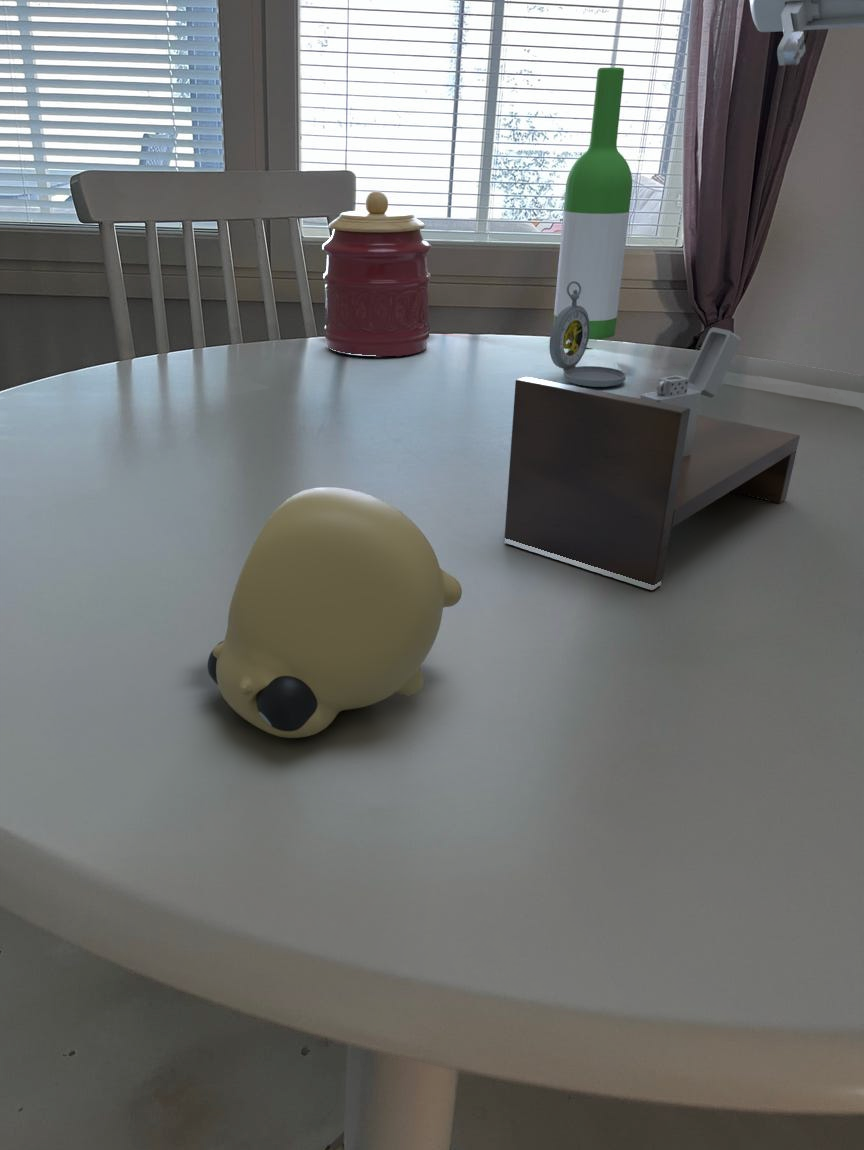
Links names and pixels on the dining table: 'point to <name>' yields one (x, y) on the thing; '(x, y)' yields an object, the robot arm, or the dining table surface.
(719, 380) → the lighter
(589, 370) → the pocket watch
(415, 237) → the kitchen canister
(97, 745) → the dining table surface
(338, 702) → the toy pig
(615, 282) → the wine bottle
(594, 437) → the shelf
